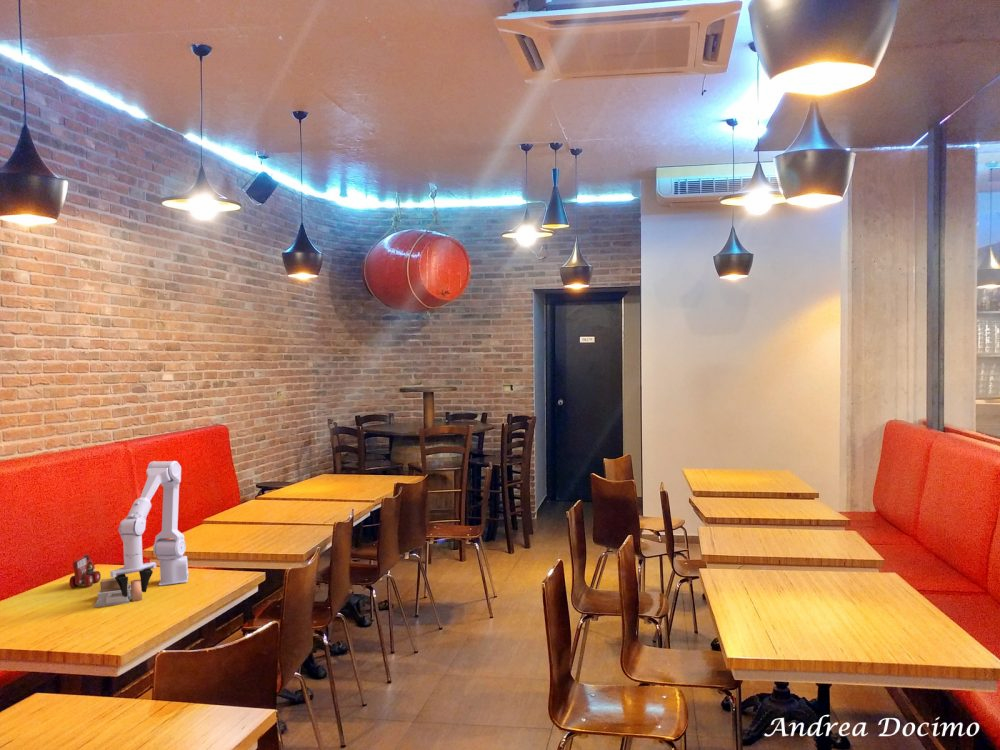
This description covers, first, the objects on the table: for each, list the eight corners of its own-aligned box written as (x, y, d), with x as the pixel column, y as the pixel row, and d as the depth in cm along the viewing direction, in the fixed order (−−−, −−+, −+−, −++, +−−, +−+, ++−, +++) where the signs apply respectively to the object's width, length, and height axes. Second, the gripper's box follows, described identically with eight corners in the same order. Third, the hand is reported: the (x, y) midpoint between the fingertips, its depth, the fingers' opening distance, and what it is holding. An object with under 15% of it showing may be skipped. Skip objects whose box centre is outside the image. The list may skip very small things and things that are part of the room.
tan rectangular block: (128, 591, 272) (127, 576, 271) (127, 593, 268) (126, 578, 268) (102, 594, 269) (101, 579, 269) (101, 597, 266) (100, 582, 266)
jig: (134, 591, 274) (133, 583, 274) (129, 602, 261) (128, 595, 261) (101, 595, 271) (101, 588, 270) (94, 607, 257) (93, 599, 257)
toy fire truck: (103, 579, 292) (102, 551, 291) (86, 589, 279) (84, 560, 279) (85, 579, 292) (83, 552, 291) (66, 590, 279) (65, 561, 279)
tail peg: (142, 597, 266) (141, 579, 266) (141, 600, 263) (140, 581, 263) (132, 599, 265) (131, 580, 265) (131, 601, 262) (129, 582, 262)
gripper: (148, 548, 271) (150, 587, 271) (105, 556, 260) (107, 597, 260) (158, 550, 267) (160, 590, 267) (115, 559, 256) (116, 600, 256)
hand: (134, 594), depth 263 cm, fingers open, 6 cm apart
